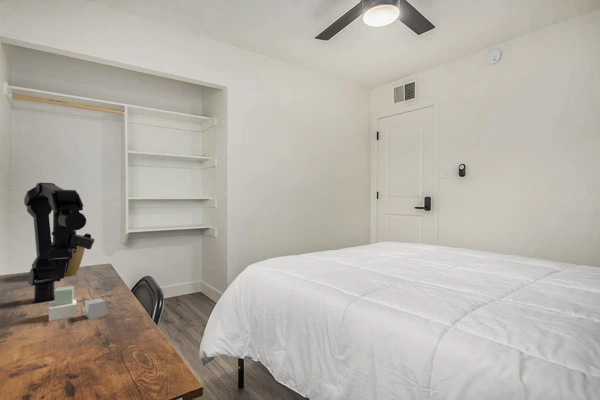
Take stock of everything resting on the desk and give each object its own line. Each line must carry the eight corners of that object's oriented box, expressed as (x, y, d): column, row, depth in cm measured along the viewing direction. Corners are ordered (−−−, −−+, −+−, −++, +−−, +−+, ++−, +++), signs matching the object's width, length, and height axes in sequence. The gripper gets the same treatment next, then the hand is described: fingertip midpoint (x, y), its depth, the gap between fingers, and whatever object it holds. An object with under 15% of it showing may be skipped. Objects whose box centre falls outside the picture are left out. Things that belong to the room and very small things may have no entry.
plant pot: (45, 280, 145) (45, 244, 145) (49, 273, 158) (49, 241, 158) (85, 276, 153) (85, 242, 153) (86, 270, 165) (86, 239, 165)
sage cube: (56, 301, 103) (56, 287, 103) (73, 299, 106) (73, 286, 106) (54, 305, 99) (54, 291, 99) (72, 303, 102) (72, 289, 102)
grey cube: (85, 315, 102) (85, 301, 102) (101, 311, 105) (101, 298, 105) (88, 319, 99) (88, 304, 99) (105, 315, 102) (105, 301, 102)
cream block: (48, 315, 102) (48, 302, 102) (75, 310, 107) (75, 298, 107) (48, 322, 97) (48, 308, 97) (77, 317, 101) (77, 304, 101)
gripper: (91, 230, 102) (91, 279, 102) (94, 224, 118) (93, 267, 118) (47, 231, 96) (46, 283, 97) (56, 225, 112) (55, 270, 113)
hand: (63, 275), depth 106 cm, fingers open, 9 cm apart
